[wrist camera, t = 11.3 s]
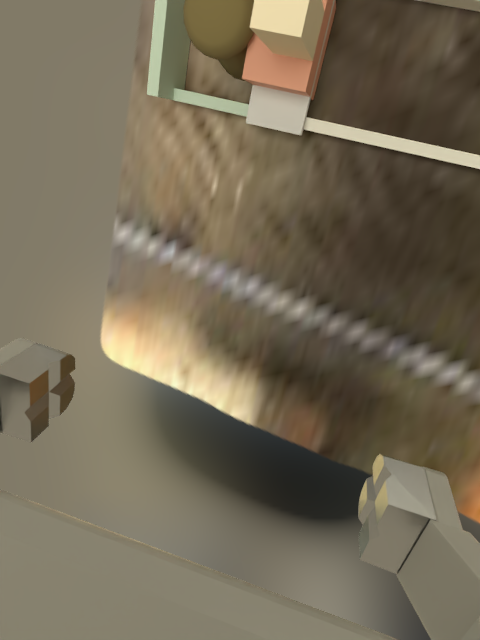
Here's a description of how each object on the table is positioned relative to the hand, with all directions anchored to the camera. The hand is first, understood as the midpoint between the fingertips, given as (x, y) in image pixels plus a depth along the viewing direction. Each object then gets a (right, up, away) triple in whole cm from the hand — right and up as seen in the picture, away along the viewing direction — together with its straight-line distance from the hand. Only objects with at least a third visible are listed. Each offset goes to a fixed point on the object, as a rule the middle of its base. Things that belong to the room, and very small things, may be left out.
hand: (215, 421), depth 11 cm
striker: (+6, +26, +26) cm, 37 cm away
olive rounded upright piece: (+1, +28, +27) cm, 39 cm away
